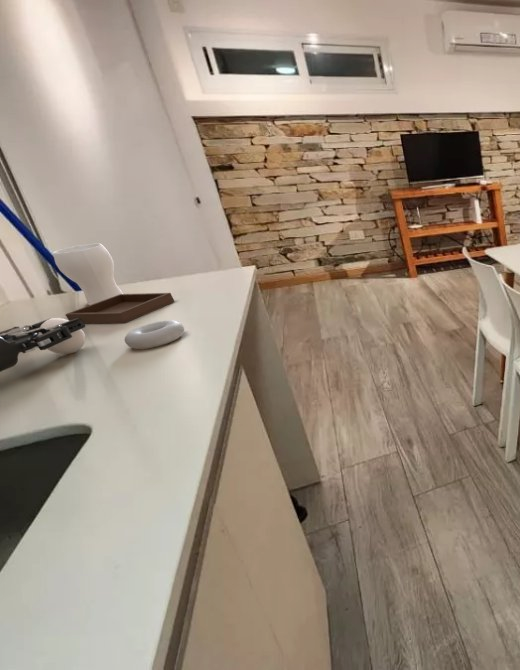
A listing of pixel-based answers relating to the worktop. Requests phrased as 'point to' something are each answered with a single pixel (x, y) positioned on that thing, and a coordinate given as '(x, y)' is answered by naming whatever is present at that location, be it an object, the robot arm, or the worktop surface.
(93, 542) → the worktop surface
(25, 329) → the robot arm
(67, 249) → the cup
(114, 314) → the tray
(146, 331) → the donut
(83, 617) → the worktop surface
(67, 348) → the egg
